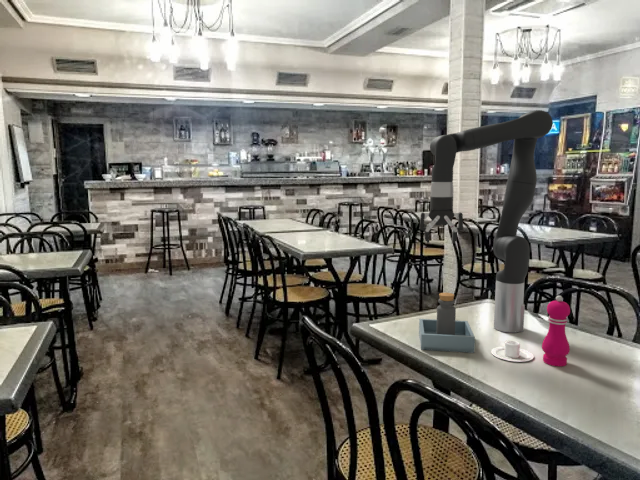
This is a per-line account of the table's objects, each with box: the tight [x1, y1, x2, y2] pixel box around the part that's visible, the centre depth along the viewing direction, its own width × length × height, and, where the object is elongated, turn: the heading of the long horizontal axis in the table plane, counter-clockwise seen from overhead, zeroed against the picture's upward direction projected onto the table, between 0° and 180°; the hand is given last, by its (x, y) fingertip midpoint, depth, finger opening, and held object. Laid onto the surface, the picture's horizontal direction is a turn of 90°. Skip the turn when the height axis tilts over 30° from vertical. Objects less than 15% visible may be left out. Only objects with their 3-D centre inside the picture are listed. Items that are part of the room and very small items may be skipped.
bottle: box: [436, 292, 457, 335], centre depth 154 cm, size 6×6×15 cm
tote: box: [418, 318, 476, 354], centre depth 155 cm, size 16×16×5 cm
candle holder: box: [490, 340, 535, 363], centre depth 144 cm, size 12×12×4 cm
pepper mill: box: [541, 295, 571, 367], centre depth 137 cm, size 7×7×20 cm
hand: (440, 242), depth 163 cm, fingers open, 8 cm apart
